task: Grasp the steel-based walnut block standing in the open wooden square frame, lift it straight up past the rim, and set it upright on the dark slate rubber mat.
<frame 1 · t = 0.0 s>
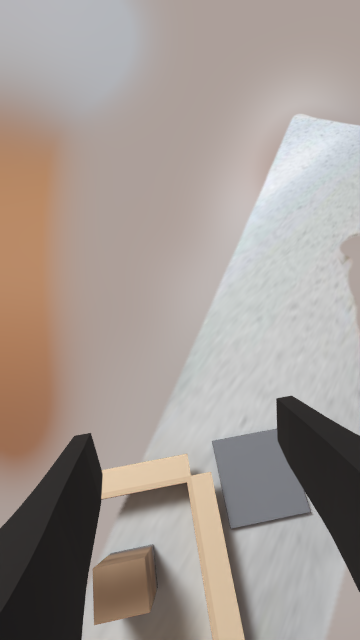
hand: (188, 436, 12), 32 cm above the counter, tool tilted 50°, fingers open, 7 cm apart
slate mat: (258, 474, 40), on the counter
walnut block: (133, 569, 35), resting in wooden square frame
wooden square frame: (133, 570, 35), on the counter
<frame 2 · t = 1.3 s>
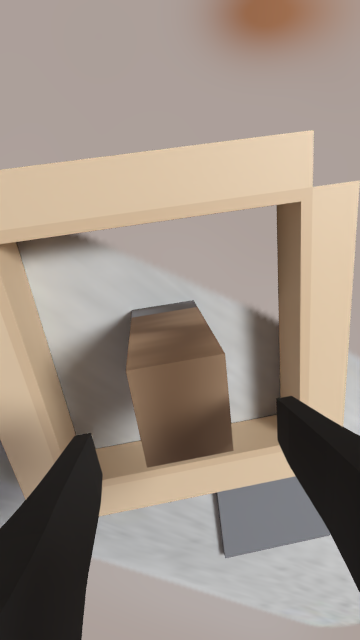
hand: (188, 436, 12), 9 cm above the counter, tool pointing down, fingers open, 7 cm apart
slate mat: (274, 502, 27), on the counter
walnut block: (168, 340, 20), resting in wooden square frame
wooden square frame: (168, 340, 20), on the counter
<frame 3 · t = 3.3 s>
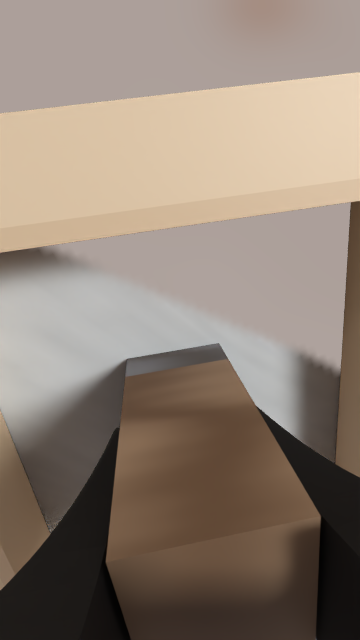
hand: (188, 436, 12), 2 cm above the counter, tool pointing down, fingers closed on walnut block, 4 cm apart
walnut block: (180, 399, 14), resting in wooden square frame, touching gripper
wooden square frame: (180, 400, 14), on the counter
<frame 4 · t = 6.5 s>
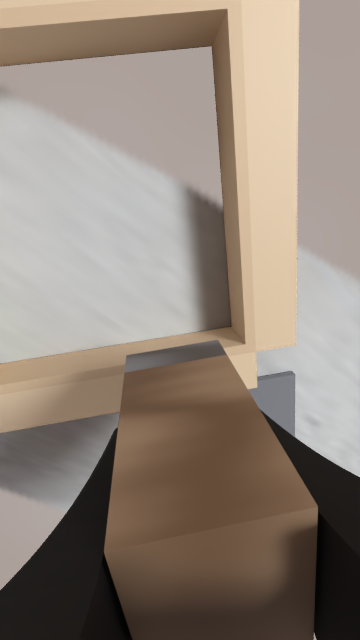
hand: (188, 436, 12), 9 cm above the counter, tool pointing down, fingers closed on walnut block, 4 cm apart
slate mat: (230, 437, 24), on the counter
walnut block: (180, 396, 14), point 7 cm above the counter, touching gripper
wooden square frame: (93, 224, 17), on the counter
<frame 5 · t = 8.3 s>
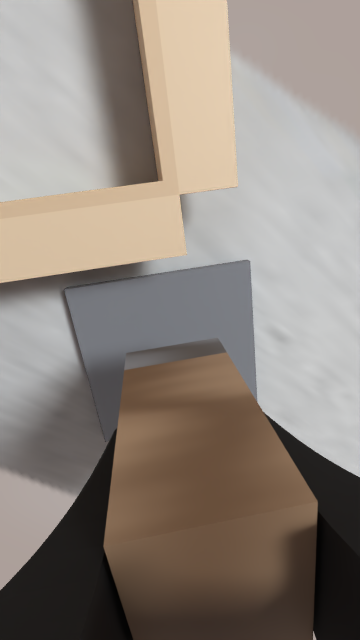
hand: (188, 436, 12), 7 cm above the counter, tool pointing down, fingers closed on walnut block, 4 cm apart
slate mat: (171, 354, 18), on the counter
walnut block: (180, 394, 14), point 5 cm above the counter, touching gripper
when the fingers open (4 cm above the counter, at t = 9.8 s): walnut block stays where it is, resting on slate mat.
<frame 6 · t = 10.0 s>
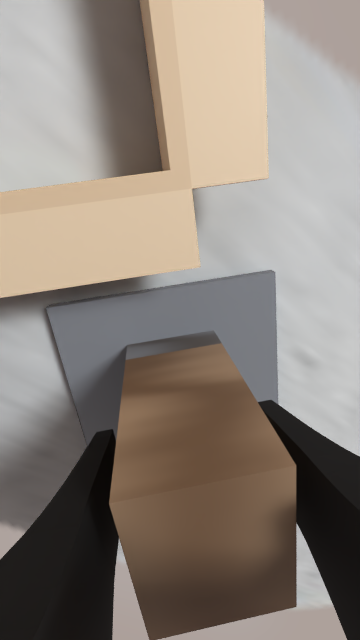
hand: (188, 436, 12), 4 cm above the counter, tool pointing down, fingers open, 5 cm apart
slate mat: (177, 383, 15), on the counter
walnut block: (178, 384, 15), resting on slate mat
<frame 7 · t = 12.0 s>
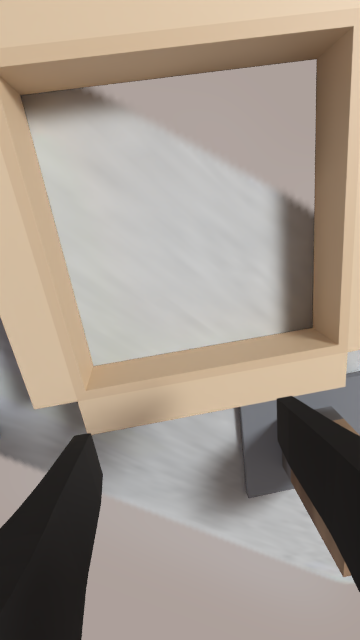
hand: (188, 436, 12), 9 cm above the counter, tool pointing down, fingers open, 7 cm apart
slate mat: (302, 435, 24), on the counter
walnut block: (306, 437, 24), resting on slate mat
wooden square frame: (191, 231, 18), on the counter
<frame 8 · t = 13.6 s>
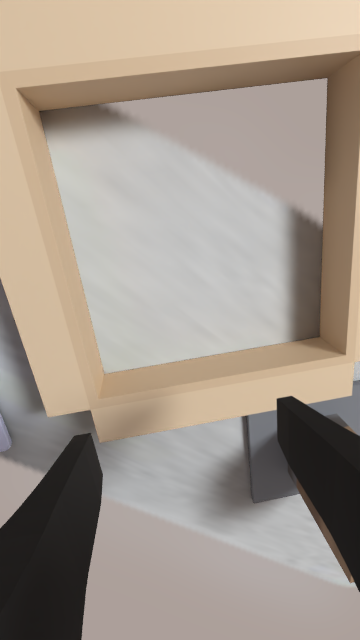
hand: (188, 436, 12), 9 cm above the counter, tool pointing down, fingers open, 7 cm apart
slate mat: (308, 441, 25), on the counter
walnut block: (311, 443, 24), resting on slate mat
wooden square frame: (203, 243, 19), on the counter
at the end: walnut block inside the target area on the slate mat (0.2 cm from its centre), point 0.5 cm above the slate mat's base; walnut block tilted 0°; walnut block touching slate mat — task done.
